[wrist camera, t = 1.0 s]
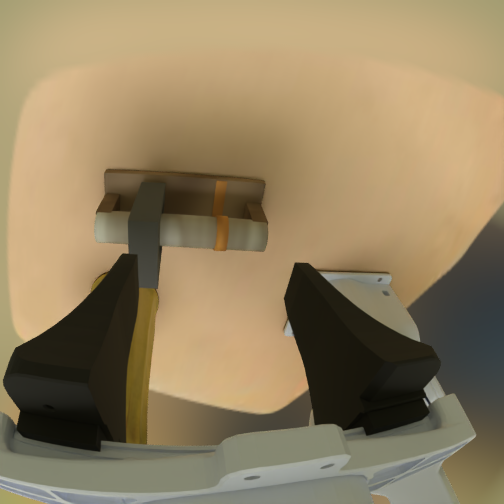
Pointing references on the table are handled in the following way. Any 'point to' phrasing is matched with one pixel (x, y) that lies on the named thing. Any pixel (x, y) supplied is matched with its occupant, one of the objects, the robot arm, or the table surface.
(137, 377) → the vase
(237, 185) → the pipe stand
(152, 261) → the dark grey square frame
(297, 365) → the table surface
